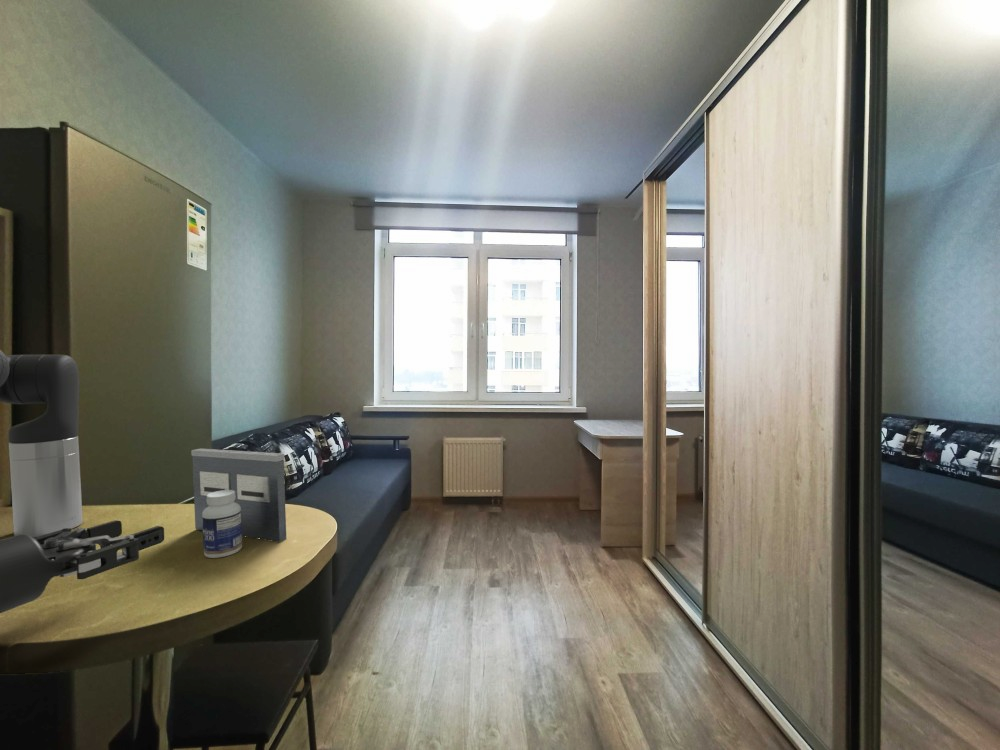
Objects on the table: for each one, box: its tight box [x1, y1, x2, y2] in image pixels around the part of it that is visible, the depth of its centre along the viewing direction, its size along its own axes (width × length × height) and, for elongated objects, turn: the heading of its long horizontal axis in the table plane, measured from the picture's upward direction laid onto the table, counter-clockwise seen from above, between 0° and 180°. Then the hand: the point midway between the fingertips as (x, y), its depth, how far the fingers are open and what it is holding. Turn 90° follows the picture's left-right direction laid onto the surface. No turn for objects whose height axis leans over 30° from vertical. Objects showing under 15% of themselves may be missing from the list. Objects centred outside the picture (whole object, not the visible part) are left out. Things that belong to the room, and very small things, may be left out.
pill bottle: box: [202, 490, 243, 559], centre depth 74 cm, size 5×5×10 cm
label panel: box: [190, 448, 287, 543], centre depth 81 cm, size 20×2×15 cm, turn 71°
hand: (140, 530), depth 62 cm, fingers open, 8 cm apart
